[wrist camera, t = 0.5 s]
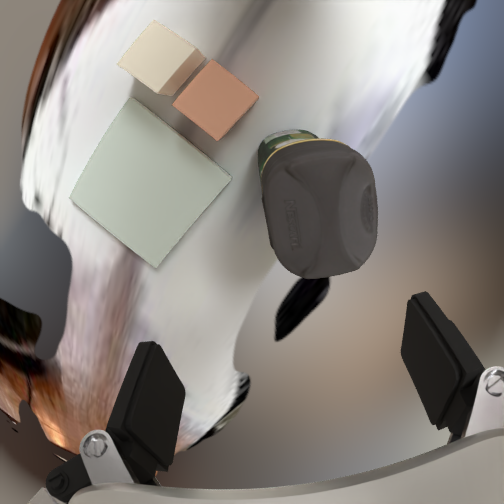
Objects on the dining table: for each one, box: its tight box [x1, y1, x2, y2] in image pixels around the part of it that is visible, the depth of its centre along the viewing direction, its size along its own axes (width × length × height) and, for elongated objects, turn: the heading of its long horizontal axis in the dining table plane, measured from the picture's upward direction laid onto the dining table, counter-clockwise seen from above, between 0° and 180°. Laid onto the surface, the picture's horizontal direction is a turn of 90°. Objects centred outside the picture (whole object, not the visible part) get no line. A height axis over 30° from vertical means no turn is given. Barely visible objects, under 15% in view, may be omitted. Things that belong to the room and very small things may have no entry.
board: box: [69, 98, 232, 268], centre depth 35 cm, size 16×16×1 cm
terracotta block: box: [172, 59, 259, 141], centre depth 28 cm, size 6×6×6 cm
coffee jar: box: [258, 130, 378, 279], centre depth 26 cm, size 10×8×19 cm
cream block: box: [117, 20, 206, 96], centre depth 26 cm, size 6×6×6 cm
